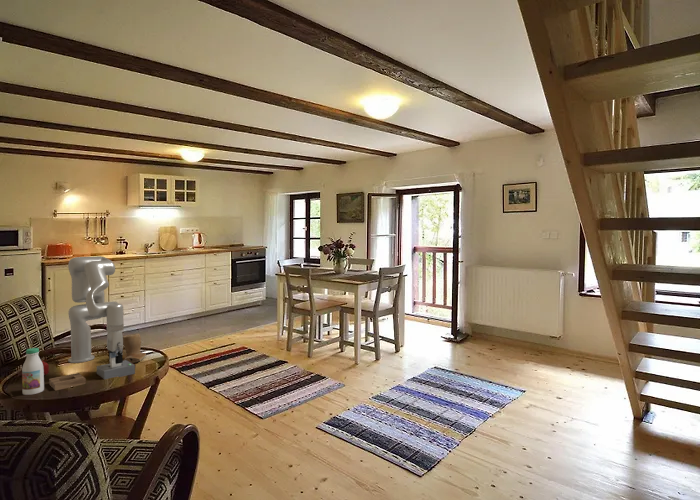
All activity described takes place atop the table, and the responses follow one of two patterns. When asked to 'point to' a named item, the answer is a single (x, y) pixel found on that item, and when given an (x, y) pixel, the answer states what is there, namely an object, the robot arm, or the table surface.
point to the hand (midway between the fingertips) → (115, 361)
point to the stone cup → (133, 347)
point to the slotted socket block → (67, 381)
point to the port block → (116, 370)
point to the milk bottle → (32, 373)
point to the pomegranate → (45, 367)
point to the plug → (113, 360)
